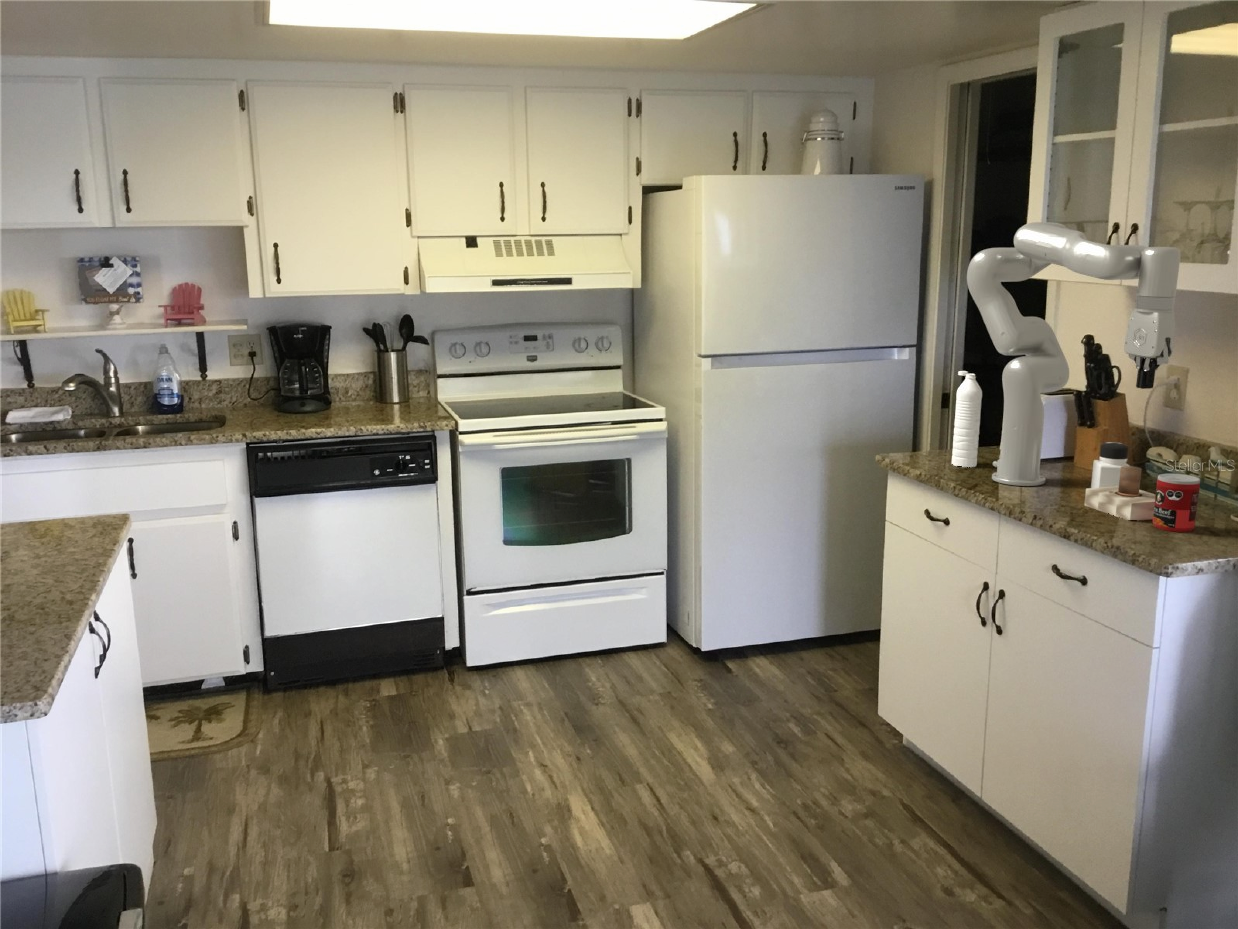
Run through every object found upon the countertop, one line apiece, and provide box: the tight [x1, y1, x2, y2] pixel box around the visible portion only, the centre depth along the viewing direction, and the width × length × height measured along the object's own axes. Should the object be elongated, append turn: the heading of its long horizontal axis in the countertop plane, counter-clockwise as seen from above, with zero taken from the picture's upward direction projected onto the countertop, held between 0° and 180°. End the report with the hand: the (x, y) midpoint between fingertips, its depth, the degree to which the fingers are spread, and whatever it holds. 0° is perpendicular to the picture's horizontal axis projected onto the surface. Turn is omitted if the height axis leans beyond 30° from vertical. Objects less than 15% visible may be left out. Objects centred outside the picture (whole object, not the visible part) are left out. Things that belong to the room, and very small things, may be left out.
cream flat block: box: [1084, 486, 1156, 521], centre depth 231 cm, size 14×11×4 cm
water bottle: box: [951, 370, 983, 469], centre depth 277 cm, size 9×6×25 cm
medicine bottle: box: [1090, 441, 1131, 488], centre depth 248 cm, size 7×7×12 cm
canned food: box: [1152, 473, 1201, 533], centre depth 218 cm, size 8×8×11 cm
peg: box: [1117, 465, 1143, 497], centre depth 231 cm, size 4×4×10 cm
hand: (1144, 387), depth 228 cm, fingers closed
